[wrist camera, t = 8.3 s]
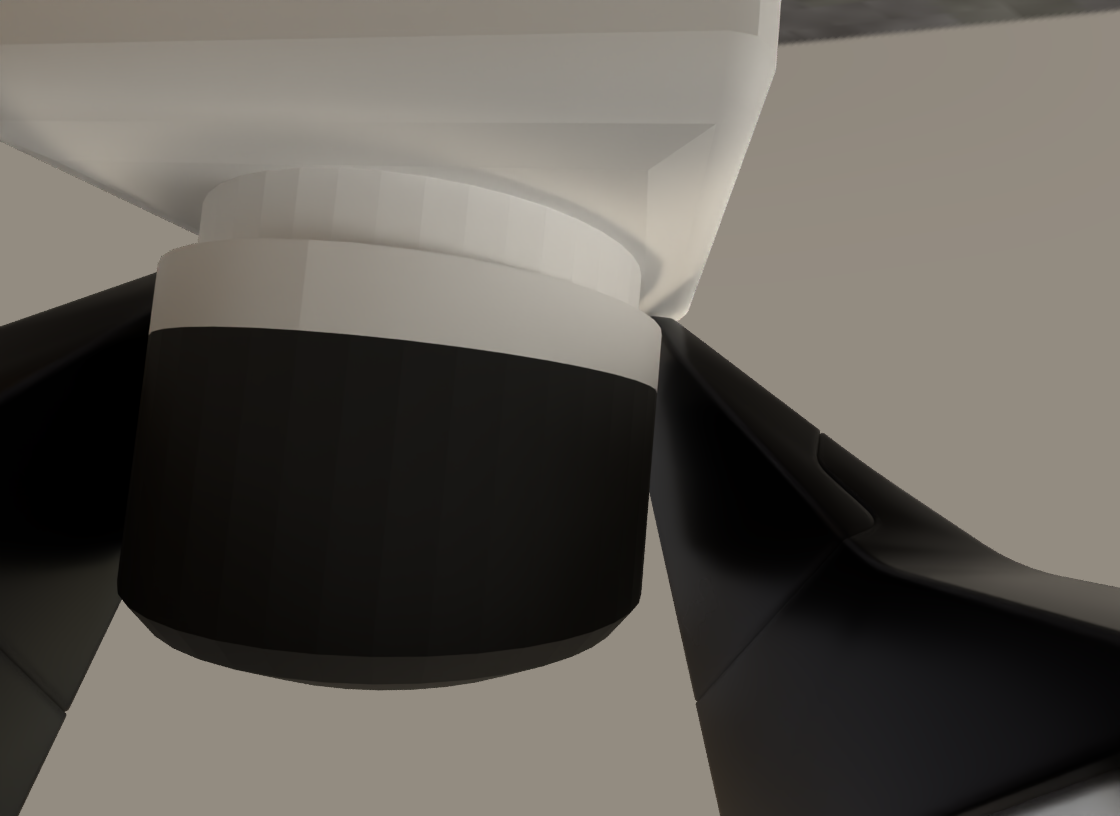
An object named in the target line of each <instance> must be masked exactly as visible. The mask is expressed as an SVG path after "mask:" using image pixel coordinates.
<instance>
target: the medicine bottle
mask: <svg viewBox="0 0 1120 816" xmlns="http://www.w3.org/2000/svg"><path fill="white" fill-rule="evenodd" d="M780 7H781V0H0V141H1V142H3V143H5V144H7V145H9V146H11V147H14V148H15V149H17V150H20V151H22V152H24V153H26V154H28V155H30V156H32V157H34V158H36V159H38V160H41V161H43V162H45V163H47V164H49V165H51V166H53V167H55V168H58V169H60V170H62V171H64V172H66V173H68V174H70V175H72V176H75V177H76V178H78V179H81V180H83V181H85V182H87V183H89V184H91V185H93V186H95V187H98V188H100V189H102V190H104V191H106V192H108V193H110V194H112V195H115V196H117V197H118V198H121V199H123V200H125V201H127V202H129V203H131V204H133V205H136V206H138V207H140V208H142V209H144V210H146V211H148V212H150V213H152V214H154V215H156V216H159V217H161V218H163V219H165V220H167V221H169V222H171V223H173V224H175V225H178V226H180V227H182V228H184V229H186V230H188V231H190V232H192V233H194V234H196V235H199V238H198V243H195V244H191V245H187V246H183V247H180V248H176V249H173V250H172V251H170V252H168V253H166V254H165V255H163V256H161V258H160V261H159V263H158V267H157V274H156V282H155V290H154V298H153V305H152V313H151V321H150V329H149V336H148V344H147V352H146V360H145V367H144V375H143V383H142V390H141V398H140V406H139V414H138V421H137V429H136V437H135V445H134V452H133V460H132V468H131V476H130V483H129V491H128V499H127V507H126V514H125V522H124V530H123V538H122V545H121V553H120V561H119V569H118V576H117V592H118V595H119V596H120V598H121V599H122V600H123V601H124V603H125V604H126V605H127V606H128V608H129V609H130V610H131V611H132V612H133V613H134V614H135V615H136V616H137V617H138V618H139V619H140V620H141V622H142V623H143V624H144V625H145V626H146V627H147V628H148V629H149V630H150V631H151V632H152V633H153V634H154V636H156V637H157V638H159V639H160V640H162V641H163V642H165V643H166V644H168V645H169V646H171V647H172V648H174V649H176V650H179V651H181V652H183V653H186V654H188V655H190V656H193V657H195V658H197V659H200V660H203V661H207V662H210V663H214V664H217V665H221V666H225V667H228V668H232V669H235V670H240V671H245V672H249V673H254V674H259V675H263V676H268V677H273V678H278V679H283V680H288V681H293V682H298V683H304V684H309V685H316V686H325V687H334V688H343V689H362V690H414V689H426V688H438V687H448V686H455V685H461V684H468V683H475V682H479V681H483V680H488V679H493V678H497V677H502V676H505V675H509V674H514V673H518V672H521V671H525V670H529V669H533V668H537V667H541V666H545V665H548V664H551V663H554V662H557V661H560V660H563V659H566V658H569V657H572V656H574V655H576V654H579V653H581V652H583V651H585V650H587V649H589V648H592V647H593V646H595V645H596V644H597V643H599V642H600V641H602V640H603V639H605V638H606V637H607V636H609V634H610V633H611V632H612V631H613V630H614V629H615V628H616V627H617V626H618V625H619V624H620V623H621V622H622V621H623V620H624V619H625V618H626V617H627V616H628V615H629V614H630V613H631V611H632V610H633V609H634V608H635V607H636V606H637V604H638V603H639V599H640V596H641V590H642V577H643V564H644V552H645V539H646V526H647V513H648V501H649V489H650V476H651V463H652V451H653V438H654V425H655V413H656V400H657V388H658V375H659V362H660V350H661V337H662V334H661V328H660V326H659V325H658V324H657V323H656V321H655V320H654V319H652V318H651V317H650V316H659V317H667V318H672V319H674V320H675V321H678V320H679V319H681V318H682V317H683V316H684V315H686V314H687V313H688V310H689V307H690V304H691V302H692V299H693V296H694V293H695V291H696V288H697V285H698V282H699V280H700V277H701V274H702V272H703V269H704V266H705V263H706V261H707V258H708V255H709V252H710V250H711V247H712V244H713V242H714V239H715V236H716V233H717V230H718V228H719V225H720V222H721V219H722V217H723V214H724V211H725V208H726V206H727V203H728V200H729V198H730V195H731V192H732V189H733V186H734V184H735V181H736V178H737V176H738V173H739V170H740V167H741V165H742V162H743V159H744V156H745V154H746V151H747V148H748V145H749V143H750V140H751V137H752V134H753V132H754V129H755V126H756V124H757V121H758V118H759V115H760V113H761V109H762V107H763V104H764V102H765V98H766V96H767V93H768V91H769V88H770V85H771V82H772V79H773V77H774V74H775V71H776V64H777V50H778V36H779V22H780Z"/></svg>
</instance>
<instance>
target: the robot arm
mask: <svg viewBox="0 0 1120 816" xmlns="http://www.w3.org/2000/svg"><path fill="white" fill-rule="evenodd" d="M156 274H157V272H156V273H153V274H150V275H148V276H145V277H142V278H139V279H136V280H133V281H130V282H127V283H124V284H121V285H119V286H116V287H113V288H110V289H107V290H104V291H101V292H98V293H95V294H93V295H90V296H87V297H84V298H81V299H78V300H76V301H73V302H70V303H67V304H64V305H61V306H58V307H55V308H52V309H49V310H47V311H44V312H41V313H38V314H35V315H32V316H29V317H26V318H24V319H21V320H18V321H15V322H12V323H9V324H6V325H3V326H0V816H18V815H19V813H20V811H21V809H22V807H23V805H24V803H25V800H26V799H27V797H28V795H29V792H30V790H31V788H32V786H33V784H34V782H35V780H36V778H37V776H38V774H39V772H40V769H41V767H42V765H43V763H44V761H45V759H46V757H47V755H48V753H49V751H50V749H51V747H52V745H53V742H54V740H55V738H56V736H57V734H58V732H59V730H60V728H61V726H62V724H63V722H64V720H65V717H66V713H65V711H67V710H68V709H69V708H70V706H71V704H72V702H73V700H74V698H75V696H76V693H77V691H78V689H79V687H80V685H81V683H82V681H83V679H84V677H85V675H86V673H87V670H88V668H89V666H90V664H91V662H92V660H93V658H94V656H95V654H96V651H97V650H98V648H99V645H100V643H101V641H102V639H103V637H104V635H105V633H106V631H107V629H108V627H109V625H110V623H111V621H112V618H113V616H114V614H115V612H116V610H117V608H118V606H119V604H120V602H121V600H122V599H121V598H120V596H119V595H118V592H117V576H118V569H119V561H120V553H121V545H122V538H123V530H124V522H125V514H126V507H127V499H128V491H129V483H130V476H131V468H132V460H133V452H134V445H135V437H136V429H137V421H138V414H139V406H140V398H141V390H142V383H143V375H144V367H145V360H146V352H147V344H148V336H149V329H150V321H151V313H152V305H153V298H154V290H155V282H156ZM650 317H651V318H652V319H654V320H655V321H656V323H657V324H658V325H659V326H660V328H661V334H662V337H661V350H660V362H659V375H658V388H657V400H656V413H655V425H654V438H653V451H652V463H651V476H650V489H649V492H650V497H651V501H652V506H653V511H654V515H655V520H656V524H657V529H658V533H659V538H660V542H661V547H662V551H663V556H664V561H665V565H666V569H667V574H668V578H669V583H670V587H671V592H672V597H673V601H674V606H675V611H676V615H677V620H678V624H679V629H680V633H681V638H682V642H683V646H684V651H685V656H686V661H687V665H688V669H689V674H690V679H691V683H692V688H693V692H694V697H695V700H696V701H697V702H696V708H697V712H698V717H699V721H700V726H701V730H702V735H703V739H704V744H705V748H706V753H707V758H708V762H709V766H710V771H711V776H712V780H713V784H714V789H715V794H716V798H717V802H718V808H719V812H720V816H1120V588H1118V587H1113V586H1108V585H1103V584H1098V583H1093V582H1087V581H1083V580H1078V579H1073V578H1068V577H1062V576H1058V575H1053V574H1049V573H1046V572H1042V571H1039V570H1036V569H1033V568H1030V567H1028V566H1025V565H1022V564H1020V563H1018V562H1015V561H1013V560H1011V559H1009V558H1007V557H1005V556H1003V555H1001V554H999V553H997V552H996V551H994V550H993V549H991V548H989V547H988V546H986V545H984V544H983V543H981V542H980V541H978V540H977V539H975V538H973V537H972V536H971V535H969V534H968V533H966V532H965V531H963V530H962V529H960V528H958V527H957V526H956V525H954V524H953V523H951V522H950V521H948V520H947V519H945V518H944V517H942V516H941V515H939V514H938V513H936V512H935V511H933V510H932V509H930V508H929V507H927V506H926V505H924V504H923V503H921V502H920V501H918V500H917V499H915V498H914V497H912V496H911V495H910V494H908V493H906V492H905V491H904V490H902V489H901V488H899V487H898V486H896V485H895V484H893V483H892V482H890V481H889V480H887V479H886V478H885V477H883V476H882V475H880V474H879V473H877V472H876V471H874V470H873V469H872V468H870V467H869V466H867V465H866V464H865V463H863V462H862V461H861V460H859V459H858V458H856V457H855V456H854V455H852V454H851V453H850V452H848V451H847V450H845V449H844V448H843V447H841V446H840V445H839V444H837V443H836V442H835V441H833V440H832V439H831V438H830V437H828V436H827V435H826V434H824V433H821V434H820V430H819V429H818V428H816V427H815V426H814V425H812V424H811V423H809V422H808V421H807V420H806V419H804V418H803V417H802V416H800V415H799V414H798V413H797V412H795V411H794V410H793V409H791V408H790V407H788V406H787V405H786V404H785V403H783V402H782V401H781V400H779V399H778V398H777V397H775V396H774V395H773V394H771V393H770V392H769V391H767V390H766V389H765V388H764V387H762V386H761V385H759V384H758V383H757V382H756V381H754V380H753V379H752V378H750V377H749V376H748V375H746V374H745V373H744V372H742V371H741V370H740V369H738V368H737V367H736V366H735V365H733V364H732V363H731V362H729V361H728V360H727V359H725V358H724V357H723V356H721V355H720V354H719V353H717V352H716V351H715V350H713V349H712V348H711V347H709V346H708V345H707V344H706V343H704V342H703V341H702V340H700V339H699V338H698V337H696V336H695V335H694V334H692V333H691V332H690V331H688V330H687V329H686V328H684V327H683V326H682V325H680V324H679V323H678V322H677V321H675V320H674V319H672V318H667V317H659V316H650Z"/></svg>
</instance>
